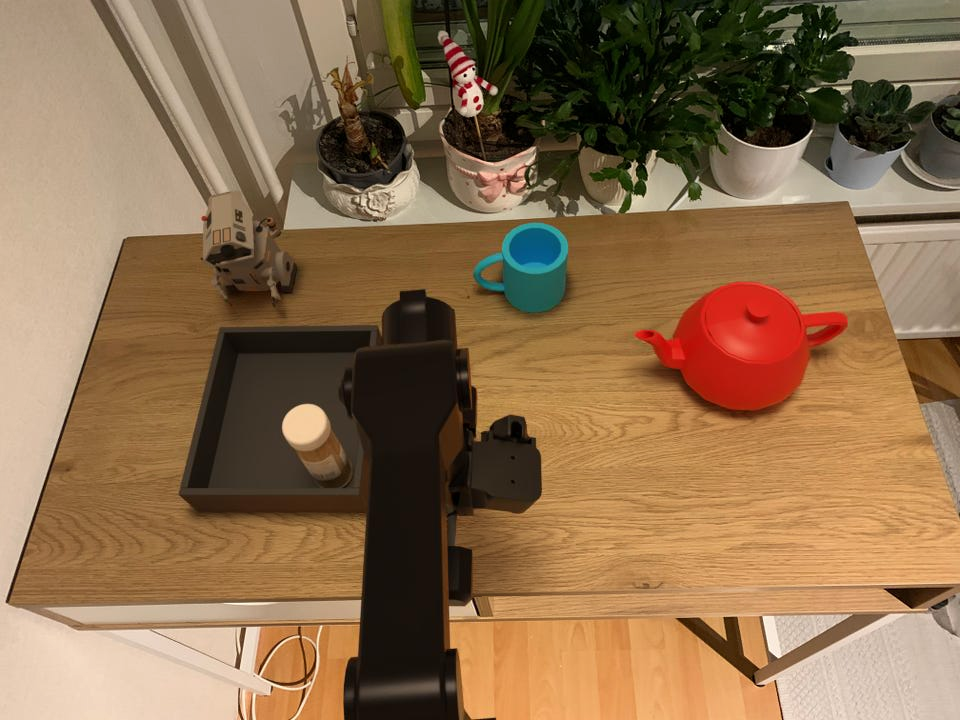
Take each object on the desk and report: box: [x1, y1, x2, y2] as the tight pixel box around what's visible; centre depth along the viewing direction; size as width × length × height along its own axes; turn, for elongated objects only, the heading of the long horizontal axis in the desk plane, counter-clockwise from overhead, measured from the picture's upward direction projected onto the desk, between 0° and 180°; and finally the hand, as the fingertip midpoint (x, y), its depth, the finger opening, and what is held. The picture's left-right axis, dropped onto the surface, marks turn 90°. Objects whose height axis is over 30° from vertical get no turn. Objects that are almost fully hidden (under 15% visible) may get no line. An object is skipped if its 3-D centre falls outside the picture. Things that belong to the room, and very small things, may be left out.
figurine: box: [200, 190, 298, 307], centre depth 92 cm, size 9×12×15 cm
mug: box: [472, 222, 569, 313], centre depth 93 cm, size 12×8×8 cm
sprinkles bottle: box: [282, 404, 353, 488], centre depth 77 cm, size 5×5×14 cm
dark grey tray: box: [178, 324, 382, 513], centre depth 85 cm, size 22×20×6 cm
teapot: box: [633, 281, 849, 411], centre depth 83 cm, size 25×16×12 cm, turn 96°
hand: (446, 519), depth 67 cm, fingers open, 9 cm apart
